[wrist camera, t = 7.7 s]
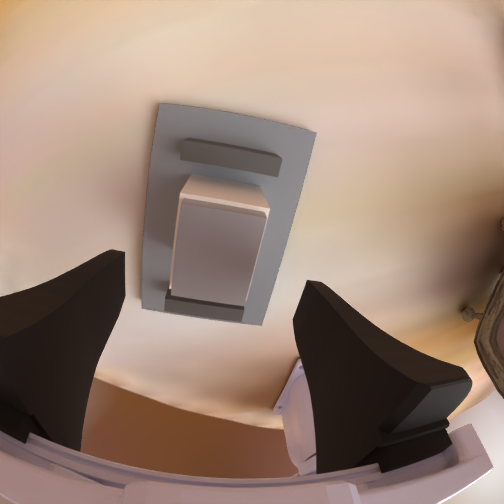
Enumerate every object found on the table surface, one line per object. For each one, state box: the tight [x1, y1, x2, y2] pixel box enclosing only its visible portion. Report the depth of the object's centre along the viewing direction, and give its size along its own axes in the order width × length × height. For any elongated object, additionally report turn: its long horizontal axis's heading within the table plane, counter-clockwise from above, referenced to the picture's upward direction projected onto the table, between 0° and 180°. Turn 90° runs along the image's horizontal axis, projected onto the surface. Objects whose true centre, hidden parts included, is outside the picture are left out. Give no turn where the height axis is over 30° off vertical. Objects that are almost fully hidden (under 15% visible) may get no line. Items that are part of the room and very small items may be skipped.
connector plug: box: [169, 174, 270, 306], centre depth 15 cm, size 5×4×5 cm
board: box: [142, 103, 316, 326], centre depth 17 cm, size 14×9×3 cm, turn 168°
